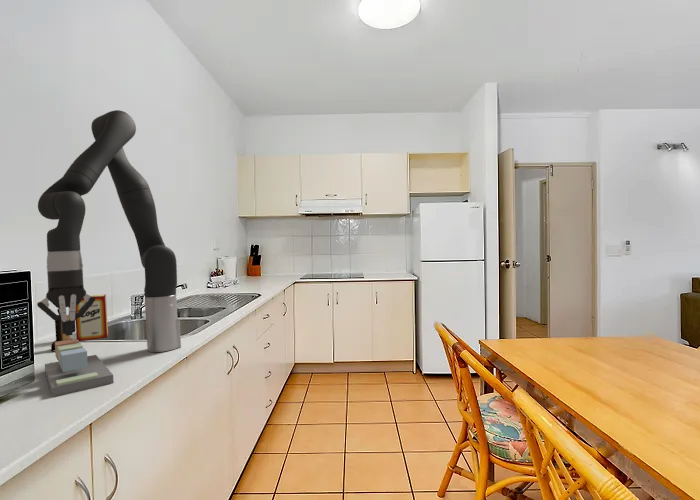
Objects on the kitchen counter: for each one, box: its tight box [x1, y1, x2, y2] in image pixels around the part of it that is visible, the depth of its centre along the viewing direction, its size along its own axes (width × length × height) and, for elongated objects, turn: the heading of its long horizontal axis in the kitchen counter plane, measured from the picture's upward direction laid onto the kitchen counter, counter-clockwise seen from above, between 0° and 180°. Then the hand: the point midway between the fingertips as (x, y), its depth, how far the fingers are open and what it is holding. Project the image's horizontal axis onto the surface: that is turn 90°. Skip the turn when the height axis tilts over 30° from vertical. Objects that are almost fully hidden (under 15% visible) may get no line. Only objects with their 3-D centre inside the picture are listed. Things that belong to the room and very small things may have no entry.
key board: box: [44, 354, 114, 398], centre depth 104 cm, size 12×26×3 cm, turn 40°
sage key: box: [57, 342, 84, 366], centre depth 105 cm, size 5×5×4 cm
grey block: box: [60, 347, 88, 372], centre depth 99 cm, size 5×5×4 cm
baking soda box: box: [75, 294, 109, 342], centre depth 151 cm, size 10×6×16 cm
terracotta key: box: [54, 338, 80, 360], centre depth 111 cm, size 5×5×4 cm
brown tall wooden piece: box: [50, 308, 72, 351], centre depth 135 cm, size 7×6×18 cm
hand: (68, 334), depth 105 cm, fingers closed
